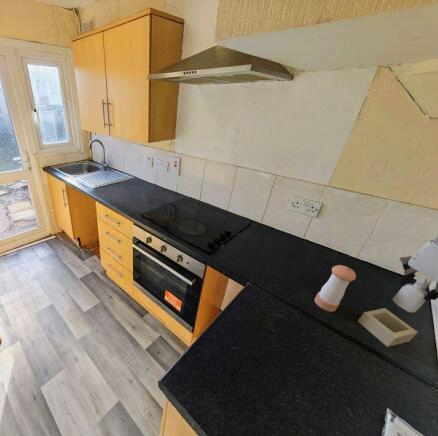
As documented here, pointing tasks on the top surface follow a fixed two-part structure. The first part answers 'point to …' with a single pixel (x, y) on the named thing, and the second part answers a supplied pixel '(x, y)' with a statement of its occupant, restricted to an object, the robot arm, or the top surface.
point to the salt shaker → (334, 288)
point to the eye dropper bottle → (412, 295)
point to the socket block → (382, 316)
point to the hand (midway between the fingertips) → (415, 291)
